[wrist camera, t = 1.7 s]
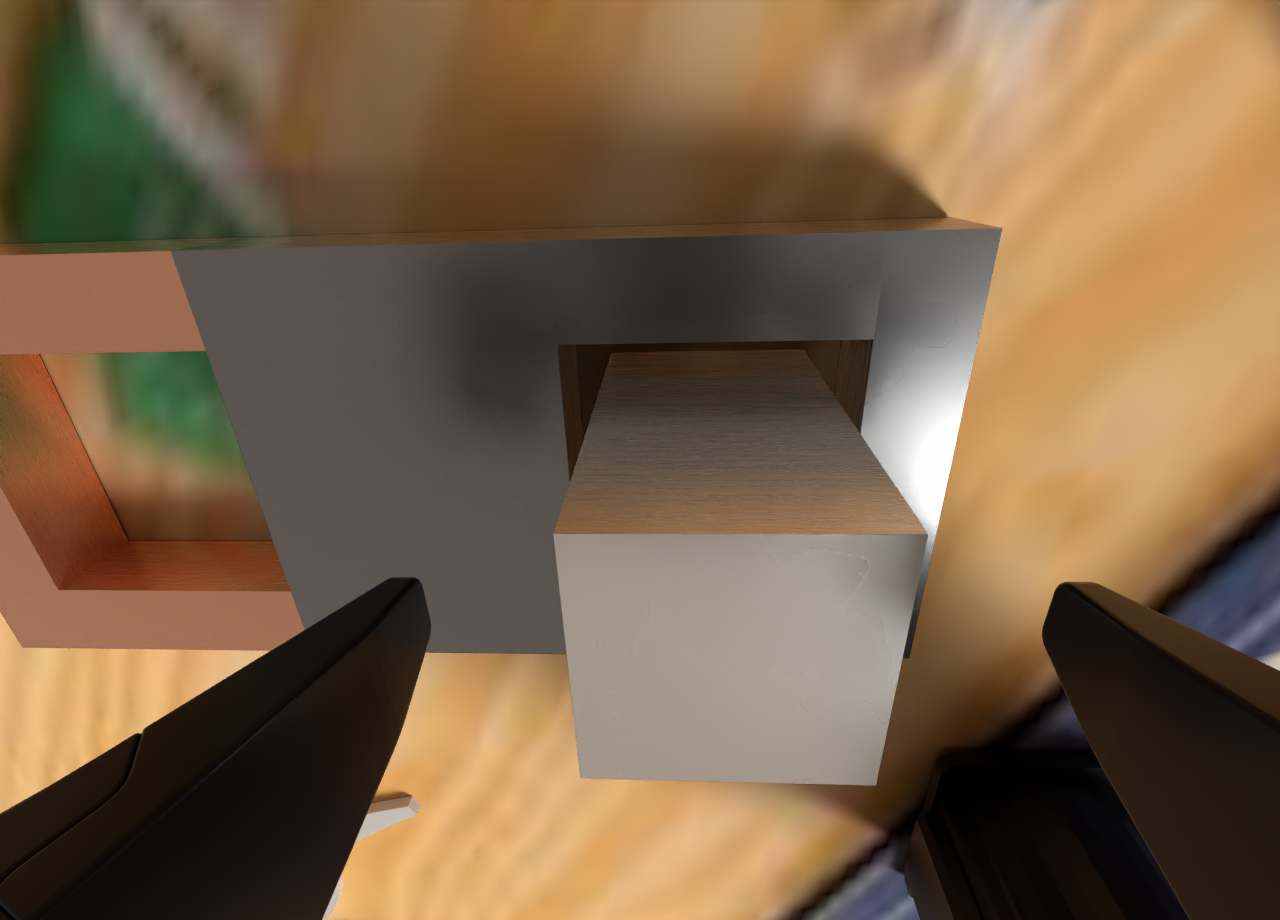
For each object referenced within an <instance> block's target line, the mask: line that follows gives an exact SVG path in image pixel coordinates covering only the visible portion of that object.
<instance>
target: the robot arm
mask: <svg viewBox="0 0 1280 920" xmlns="http://www.w3.org/2000/svg"><path fill="white" fill-rule="evenodd" d="M430 634H431V620H430V615H429V611H428V607H427V602H426V598H425V594H424V589H423V586H422V583H421V582H420V580H419V579H417V578H415V577H392V578H389V579H387V580H385V581H383V582H382V583H380V584H378V585H377V586H375V587H374V588H372V589H370V590H369V591H367V592H365V593H364V594H362V595H361V596H359V597H357V598H356V599H354V600H352V601H351V602H349V603H348V604H346V605H344V606H343V607H341V608H339V609H338V610H336V611H335V612H333V613H331V614H330V615H328V616H326V617H325V618H323V619H322V620H320V621H318V622H317V623H315V624H313V625H312V626H310V627H309V628H307V629H305V630H304V631H302V632H300V633H299V634H297V635H296V636H294V637H292V638H291V639H289V640H287V641H286V642H284V643H283V644H281V645H279V646H278V647H276V648H274V649H273V650H271V651H269V652H268V653H266V654H265V655H263V656H261V657H260V658H258V659H256V660H255V661H253V662H252V663H250V664H248V665H247V666H245V667H243V668H242V669H240V670H239V671H237V672H235V673H234V674H232V675H230V676H229V677H227V678H226V679H224V680H222V681H221V682H219V683H217V684H216V685H214V686H213V687H211V688H209V689H208V690H206V691H204V692H203V693H201V694H200V695H198V696H196V697H195V698H193V699H191V700H190V701H188V702H186V703H185V704H183V705H182V706H180V707H178V708H177V709H175V710H173V711H172V712H170V713H169V714H167V715H165V716H164V717H162V718H160V719H159V720H157V721H156V722H154V723H152V724H151V725H149V726H147V727H146V728H145V729H144V730H143V732H142V734H140V733H136V734H134V735H132V736H131V737H129V738H128V739H126V740H124V741H123V742H121V743H120V744H118V745H116V746H115V747H113V748H112V749H110V750H108V751H107V752H105V753H103V754H102V755H100V756H99V757H97V758H95V759H93V760H92V761H90V762H88V763H87V764H85V765H83V766H82V767H80V768H78V769H77V770H75V771H73V772H72V773H70V774H68V775H67V776H65V777H63V778H62V779H60V780H58V781H57V782H55V783H53V784H52V785H50V786H48V787H47V788H45V789H43V790H41V791H40V792H38V793H36V794H34V795H32V796H31V797H29V798H27V799H25V800H24V801H22V802H20V803H18V804H16V805H15V806H13V807H11V808H9V809H8V810H6V811H4V812H2V813H0V920H322V919H323V917H324V914H325V912H326V910H327V907H328V905H329V903H330V900H331V898H332V896H333V893H334V891H335V888H336V886H337V884H338V881H339V879H340V877H341V874H342V872H343V870H344V867H345V865H346V862H347V860H348V858H349V855H350V853H351V851H352V848H353V846H354V844H355V841H356V839H357V836H358V834H359V832H360V829H361V827H362V825H363V822H364V820H365V818H366V815H367V813H368V810H369V808H370V806H371V803H372V801H373V799H374V796H375V794H376V792H377V789H378V787H379V784H380V782H381V780H382V777H383V775H384V773H385V770H386V768H387V766H388V763H389V761H390V758H391V756H392V754H393V751H394V749H395V746H396V744H397V741H398V739H399V736H400V734H401V731H402V728H403V725H404V722H405V719H406V715H407V712H408V709H409V705H410V702H411V699H412V695H413V692H414V689H415V685H416V682H417V679H418V675H419V672H420V669H421V665H422V662H423V659H424V656H425V652H426V649H427V646H428V642H429V639H430ZM1042 637H1043V642H1044V646H1045V648H1046V651H1047V653H1048V655H1049V657H1050V659H1051V662H1052V664H1053V666H1054V668H1055V671H1056V673H1057V675H1058V677H1059V679H1060V682H1061V684H1062V686H1063V688H1064V690H1065V693H1066V695H1067V697H1068V699H1069V701H1070V704H1071V706H1072V708H1073V710H1074V712H1075V715H1076V717H1077V719H1078V721H1079V724H1080V726H1081V728H1082V730H1083V732H1084V734H1085V736H1086V738H1087V740H1088V742H1089V745H1090V747H1091V749H1092V751H1093V752H1094V754H1095V755H1059V754H1011V753H963V752H955V753H948V754H945V755H943V756H941V757H940V758H939V759H937V761H936V763H935V765H934V769H933V773H932V776H931V780H930V784H929V788H928V791H927V795H926V799H925V803H924V806H923V810H922V812H921V814H920V815H919V816H918V818H917V819H916V822H915V825H914V829H913V833H912V837H911V841H910V844H909V848H908V852H907V856H906V860H905V863H904V871H905V877H904V878H905V884H906V887H907V890H908V893H909V895H910V896H911V897H912V898H913V899H914V902H915V905H916V908H917V911H918V914H919V917H920V920H1280V671H1279V670H1277V669H1275V668H1272V667H1270V666H1268V665H1266V664H1264V663H1262V662H1260V661H1258V660H1256V659H1254V658H1252V657H1250V656H1247V655H1245V654H1243V653H1241V652H1239V651H1237V650H1235V649H1233V648H1231V647H1229V646H1227V645H1225V644H1222V643H1220V642H1218V641H1216V640H1214V639H1212V638H1210V637H1208V636H1206V635H1204V634H1202V633H1200V632H1197V631H1195V630H1193V629H1191V628H1189V627H1187V626H1185V625H1183V624H1181V623H1179V622H1177V621H1175V620H1173V619H1170V618H1168V617H1166V616H1164V615H1162V614H1160V613H1158V612H1156V611H1154V610H1152V609H1150V608H1148V607H1145V606H1143V605H1141V604H1139V603H1137V602H1135V601H1133V600H1131V599H1129V598H1127V597H1125V596H1123V595H1120V594H1118V593H1116V592H1114V591H1112V590H1110V589H1108V588H1106V587H1104V586H1102V585H1100V584H1097V583H1093V582H1064V583H1061V584H1060V585H1059V586H1058V587H1057V588H1056V590H1055V592H1054V595H1053V598H1052V601H1051V604H1050V607H1049V610H1048V613H1047V616H1046V619H1045V622H1044V625H1043V630H1042Z"/></svg>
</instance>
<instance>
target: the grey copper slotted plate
mask: <svg viewBox="0 0 1280 920" xmlns="http://www.w3.org/2000/svg"><path fill="white" fill-rule="evenodd" d="M1001 231H1002V228H999V227H994V226H989V225H985V224H980V223H975V222H971V221H966V220H961V219H956V218H952V217H943V218H907V219H872V220H837V221H802V222H767V223H732V224H697V225H661V226H626V227H591V228H556V229H521V230H486V231H451V232H415V233H380V234H345V235H310V236H275V237H240V238H205V239H169V240H134V241H99V242H64V243H29V244H0V612H1V614H2V615H3V617H4V619H5V620H6V622H7V623H8V625H9V627H10V628H11V630H12V631H13V633H14V635H15V636H16V638H17V639H18V641H19V643H20V644H21V646H22V647H23V648H99V649H181V650H263V651H271V650H273V649H274V648H276V647H278V646H279V645H281V644H283V643H284V642H286V641H287V640H289V639H291V638H292V637H294V636H296V635H297V634H299V633H300V632H302V631H304V630H305V629H307V628H309V627H310V626H312V625H313V624H315V623H317V622H318V621H320V620H322V619H323V618H325V617H326V616H328V615H330V614H331V613H333V612H335V611H336V610H338V609H339V608H341V607H343V606H344V605H346V604H348V603H349V602H351V601H352V600H354V599H356V598H357V597H359V596H361V595H362V594H364V593H365V592H367V591H369V590H370V589H372V588H374V587H375V586H377V585H378V584H380V583H382V582H383V581H385V580H387V579H389V578H392V577H415V578H417V579H419V580H420V582H421V583H422V586H423V589H424V594H425V598H426V602H427V607H428V611H429V615H430V620H431V634H430V639H429V642H428V646H427V649H426V652H427V653H509V654H567V653H566V644H565V635H564V626H563V617H562V608H561V599H560V590H559V581H558V572H557V563H556V554H555V545H554V536H553V533H554V530H555V527H556V524H557V521H558V518H559V515H560V512H561V509H562V506H563V502H564V499H565V496H566V493H567V490H568V487H569V484H570V481H571V478H572V474H573V471H574V468H575V465H576V462H577V459H578V456H579V453H580V450H581V446H582V443H583V432H582V419H581V407H580V394H579V382H578V369H577V356H576V345H577V344H635V343H693V342H750V341H808V340H841V348H840V356H839V365H838V373H837V382H836V391H835V397H836V399H837V400H838V402H839V403H840V405H841V406H842V408H843V409H844V410H845V412H846V413H847V415H848V416H849V418H850V419H851V421H852V422H853V424H854V425H855V427H856V428H857V430H858V431H859V433H860V434H861V436H862V437H863V439H864V440H865V441H866V443H867V444H868V446H869V447H870V449H871V450H872V452H873V453H874V455H875V456H876V458H877V459H878V461H879V462H880V464H881V465H882V467H883V468H884V470H885V471H886V472H887V474H888V475H889V477H890V478H891V480H892V481H893V483H894V484H895V486H896V487H897V489H898V490H899V492H900V493H901V495H902V496H903V498H904V499H905V500H906V502H907V503H908V505H909V506H910V508H911V509H912V511H913V512H914V514H915V515H916V517H917V518H918V520H919V521H920V523H921V524H922V526H923V527H924V529H925V530H926V531H927V533H928V539H927V544H926V549H925V553H924V558H923V563H922V568H921V573H920V577H919V582H918V587H917V592H916V596H915V601H914V606H913V611H912V616H911V620H910V625H909V630H908V635H907V639H906V644H905V649H904V654H903V658H909V657H910V652H911V647H912V643H913V638H914V633H915V629H916V624H917V620H918V615H919V610H920V606H921V601H922V596H923V592H924V587H925V583H926V578H927V573H928V569H929V564H930V559H931V555H932V550H933V546H934V541H935V536H936V532H937V527H938V523H939V518H940V513H941V509H942V504H943V499H944V495H945V490H946V486H947V481H948V476H949V472H950V467H951V462H952V458H953V453H954V449H955V444H956V439H957V435H958V430H959V425H960V421H961V416H962V412H963V407H964V402H965V398H966V393H967V388H968V384H969V379H970V375H971V370H972V365H973V361H974V356H975V352H976V347H977V342H978V338H979V333H980V328H981V324H982V319H983V315H984V310H985V305H986V301H987V296H988V291H989V287H990V282H991V278H992V273H993V268H994V264H995V259H996V254H997V250H998V245H999V241H1000V236H1001ZM174 351H206V353H207V356H208V359H209V361H210V364H211V367H212V370H213V373H214V376H215V378H216V381H217V384H218V387H219V390H220V393H221V395H222V398H223V401H224V404H225V407H226V410H227V412H228V415H229V418H230V421H231V424H232V427H233V429H234V432H235V435H236V438H237V441H238V444H239V446H240V449H241V452H242V455H243V458H244V461H245V463H246V466H247V469H248V472H249V475H250V478H251V480H252V483H253V486H254V489H255V492H256V495H257V497H258V500H259V503H260V506H261V509H262V512H263V514H264V517H265V520H266V523H267V526H268V528H269V531H270V534H271V537H272V540H273V541H128V539H127V537H126V535H125V533H124V531H123V529H122V527H121V525H120V523H119V521H118V518H117V516H116V514H115V512H114V510H113V508H112V506H111V504H110V502H109V500H108V498H107V495H106V493H105V491H104V489H103V487H102V485H101V483H100V481H99V479H98V477H97V475H96V472H95V470H94V468H93V466H92V464H91V462H90V460H89V458H88V456H87V454H86V452H85V449H84V447H83V445H82V443H81V441H80V439H79V437H78V435H77V433H76V431H75V428H74V426H73V424H72V422H71V420H70V418H69V416H68V414H67V412H66V410H65V408H64V405H63V403H62V401H61V399H60V397H59V395H58V393H57V391H56V389H55V387H54V385H53V382H52V380H51V378H50V376H49V374H48V372H47V370H46V368H45V366H44V364H43V362H42V359H41V357H40V355H39V354H58V353H116V352H174Z"/></svg>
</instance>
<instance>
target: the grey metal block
mask: <svg viewBox="0 0 1280 920" xmlns="http://www.w3.org/2000/svg"><path fill="white" fill-rule="evenodd" d="M553 536H554V545H555V554H556V563H557V572H558V581H559V590H560V599H561V608H562V617H563V626H564V635H565V644H566V653H567V662H568V671H569V680H570V688H571V697H572V706H573V715H574V724H575V733H576V742H577V751H578V760H579V769H580V778H590V779H631V780H672V781H713V782H753V783H794V784H835V785H876V783H877V778H878V773H879V768H880V764H881V759H882V754H883V749H884V745H885V740H886V735H887V730H888V725H889V721H890V716H891V711H892V706H893V702H894V697H895V692H896V687H897V682H898V678H899V673H900V668H901V663H902V659H903V654H904V649H905V644H906V639H907V635H908V630H909V625H910V620H911V616H912V611H913V606H914V601H915V596H916V592H917V587H918V582H919V577H920V573H921V568H922V563H923V558H924V553H925V549H926V544H927V539H928V533H927V531H926V530H925V529H924V527H923V526H922V524H921V523H920V521H919V520H918V518H917V517H916V515H915V514H914V512H913V511H912V509H911V508H910V506H909V505H908V503H907V502H906V500H905V499H904V498H903V496H902V495H901V493H900V492H899V490H898V489H897V487H896V486H895V484H894V483H893V481H892V480H891V478H890V477H889V475H888V474H887V472H886V471H885V470H884V468H883V467H882V465H881V464H880V462H879V461H878V459H877V458H876V456H875V455H874V453H873V452H872V450H871V449H870V447H869V446H868V444H867V443H866V441H865V440H864V439H863V437H862V436H861V434H860V433H859V431H858V430H857V428H856V427H855V425H854V424H853V422H852V421H851V419H850V418H849V416H848V415H847V413H846V412H845V410H844V409H843V408H842V406H841V405H840V403H839V402H838V400H837V399H836V397H835V396H834V394H833V393H832V391H831V390H830V388H829V387H828V385H827V384H826V382H825V381H824V380H823V378H822V377H821V375H820V374H819V372H818V371H817V369H816V368H815V366H814V365H813V363H812V362H811V360H810V359H809V357H808V356H807V354H806V353H805V351H804V350H803V349H792V350H733V351H673V352H613V353H611V356H610V359H609V363H608V366H607V369H606V372H605V375H604V378H603V381H602V384H601V387H600V390H599V394H598V397H597V400H596V403H595V406H594V409H593V412H592V415H591V418H590V422H589V425H588V428H587V431H586V434H585V437H584V440H583V443H582V446H581V450H580V453H579V456H578V459H577V462H576V465H575V468H574V471H573V474H572V478H571V481H570V484H569V487H568V490H567V493H566V496H565V499H564V502H563V506H562V509H561V512H560V515H559V518H558V521H557V524H556V527H555V530H554V533H553Z"/></svg>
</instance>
